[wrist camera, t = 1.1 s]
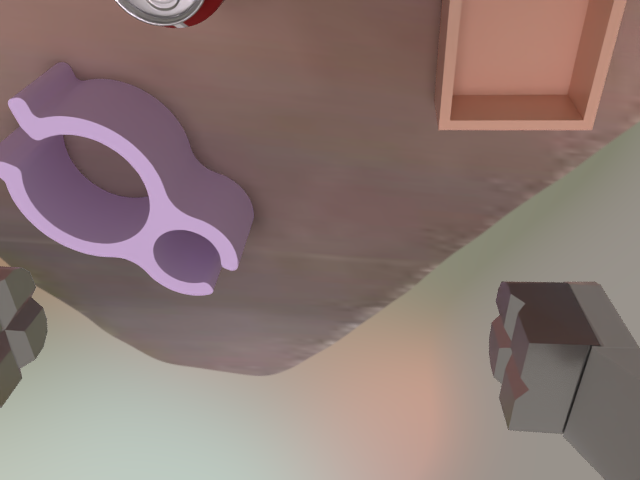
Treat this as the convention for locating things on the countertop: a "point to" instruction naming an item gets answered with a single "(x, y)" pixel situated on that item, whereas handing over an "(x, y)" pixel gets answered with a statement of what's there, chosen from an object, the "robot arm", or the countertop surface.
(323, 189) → the countertop surface
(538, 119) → the peach open box
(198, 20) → the soda can
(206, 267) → the clip
